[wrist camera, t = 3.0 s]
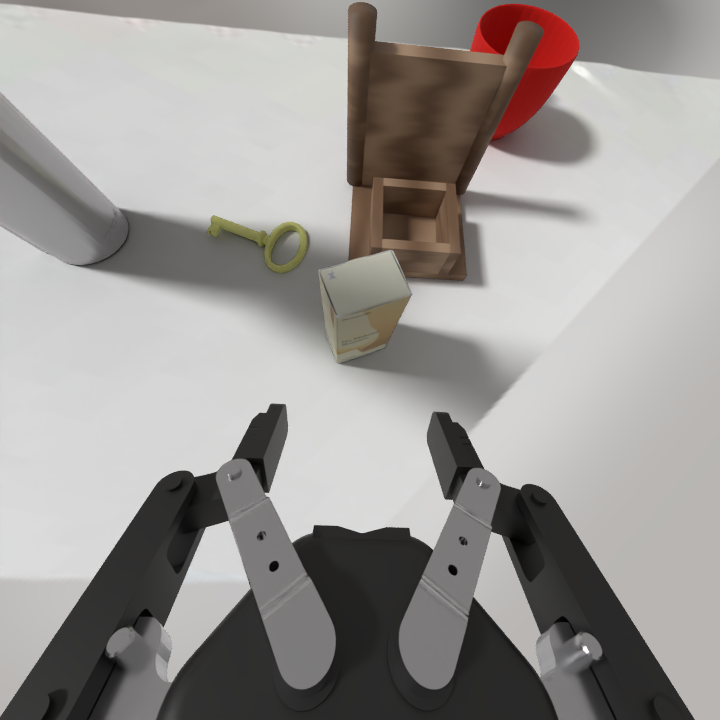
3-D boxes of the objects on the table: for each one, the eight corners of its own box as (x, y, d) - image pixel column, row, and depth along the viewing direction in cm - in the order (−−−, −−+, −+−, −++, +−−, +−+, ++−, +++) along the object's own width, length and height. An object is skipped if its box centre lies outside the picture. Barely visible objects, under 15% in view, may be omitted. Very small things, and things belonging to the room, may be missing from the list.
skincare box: (337, 365, 30) (331, 321, 18) (324, 331, 31) (312, 269, 19) (388, 347, 31) (415, 294, 19) (375, 315, 32) (392, 246, 20)
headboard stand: (341, 272, 33) (337, 132, 18) (347, 179, 37) (349, 0, 22) (470, 280, 34) (574, 153, 18) (462, 188, 38) (541, 22, 23)
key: (215, 225, 34) (207, 212, 32) (309, 229, 35) (307, 217, 33) (207, 273, 33) (198, 262, 30) (306, 276, 33) (304, 266, 31)
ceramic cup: (532, 94, 45) (583, 2, 35) (521, 164, 40) (577, 79, 30) (459, 75, 45) (490, -22, 35) (440, 142, 40) (470, 51, 31)
